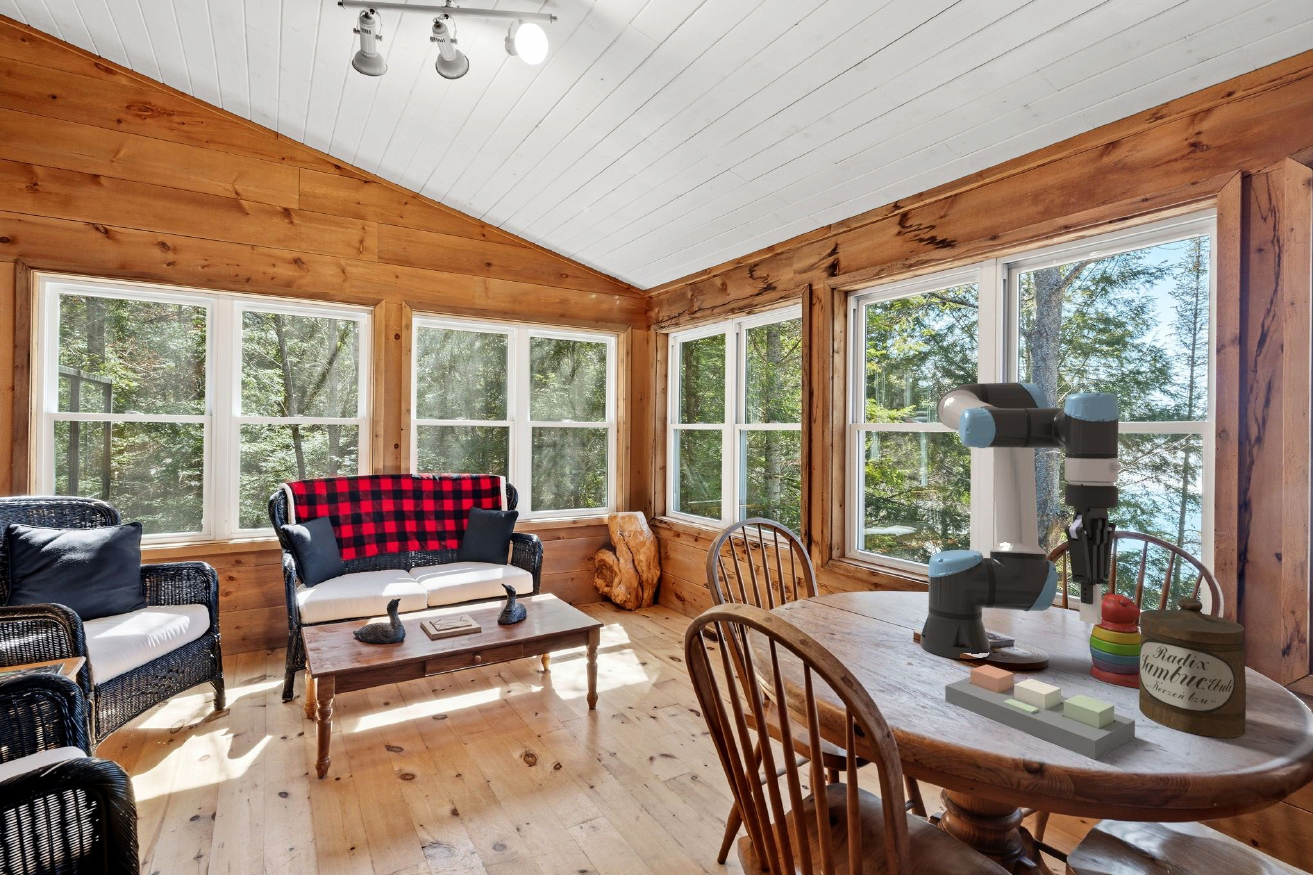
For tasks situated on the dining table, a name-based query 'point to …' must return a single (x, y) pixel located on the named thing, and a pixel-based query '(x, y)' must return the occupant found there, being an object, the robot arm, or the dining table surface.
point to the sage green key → (1089, 711)
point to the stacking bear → (1116, 642)
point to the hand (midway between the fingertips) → (1090, 621)
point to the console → (1041, 719)
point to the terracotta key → (992, 678)
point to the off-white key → (1037, 694)
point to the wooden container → (1193, 671)
